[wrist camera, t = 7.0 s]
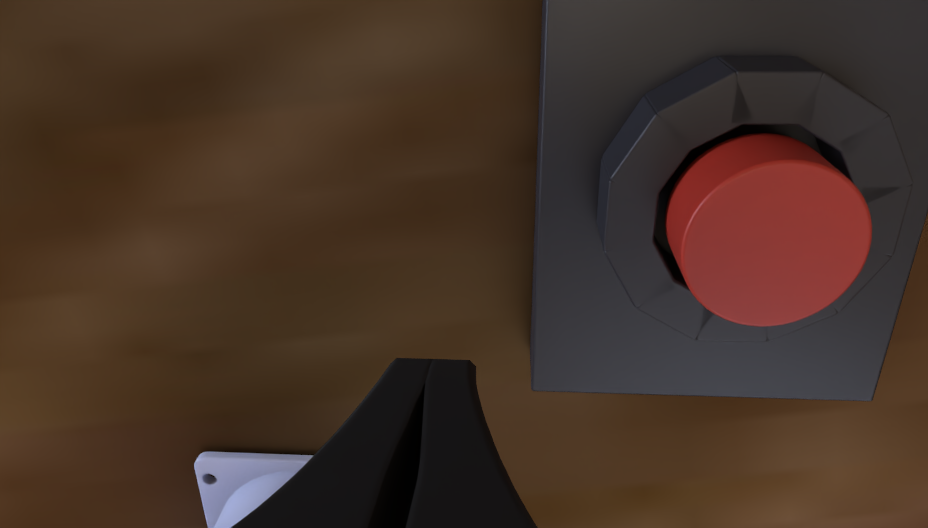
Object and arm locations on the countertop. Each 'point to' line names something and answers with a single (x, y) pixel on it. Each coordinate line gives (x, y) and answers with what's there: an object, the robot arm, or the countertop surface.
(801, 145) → the red push button
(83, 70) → the countertop surface
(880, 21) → the control block
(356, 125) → the countertop surface
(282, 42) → the countertop surface
